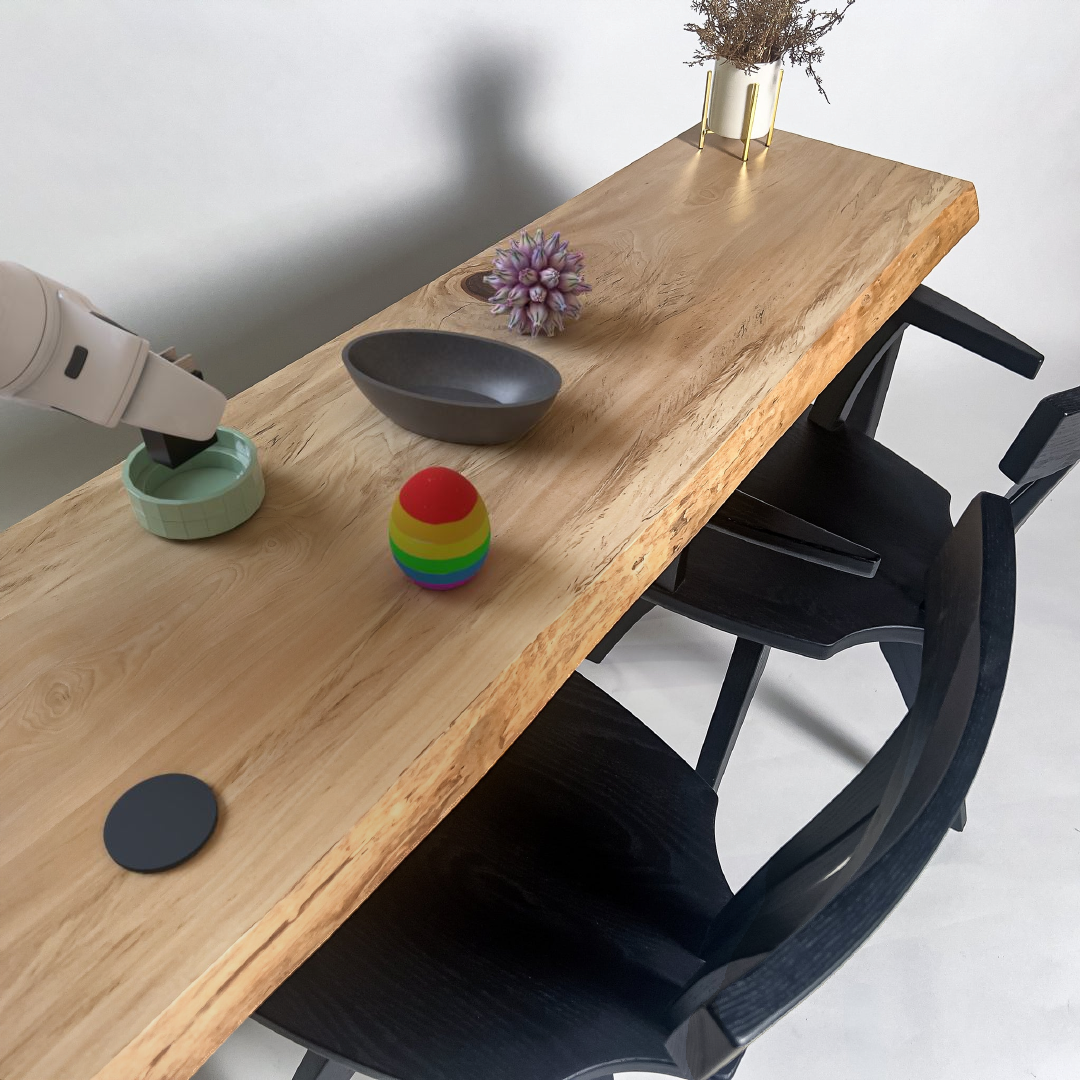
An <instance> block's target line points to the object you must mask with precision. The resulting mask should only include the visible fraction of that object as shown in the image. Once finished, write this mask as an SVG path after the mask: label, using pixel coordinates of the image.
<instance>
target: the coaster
mask: <svg viewBox="0 0 1080 1080" xmlns="http://www.w3.org/2000/svg"><path fill="white" fill-rule="evenodd" d="M218 818H219V806H218V801H217V798H216V796H215V794H214V792H213V790H212V789H211V787H210V786H209V785H208V784H207V783H206V782H205V781H203V780H202V779H200V778H198V777H197V776H193V775H191V774H187V773H179V772H175V773H174V772H173V773H172V772H171V773H162V774H158V775H154V776H152V777H149V778H147V779H144V780H142V781H140V782H138V783H136V784H135V785H134V786H132V787H130V788H129V789H127V791H125V792H124V793H123V794H122V795H121V796H119V798H118V799H117V800H116V801H115V803H113V805H112V807H111V808H110V810H109V811H108V813H107V816H106V818H105V821H104V825H103V833H102V837H103V844H104V847H105V849H106V851H107V853H108V855H109V857H110V858H111V859H112V860H113V862H114V863H116V864H117V865H118V866H120V867H121V868H123V869H125V870H127V871H130V872H134V873H139V874H153V873H154V874H155V873H161V872H165V871H169V870H171V869H174V868H176V867H178V866H181V865H182V864H185V863H186V862H188V861H189V860H190V859H192V858H193V857H194V856H196V855H197V854H198V853H199V852H200V851H201V850H202V849H203V848H204V847H205V846H206V845H207V844H208V842H209V840H210V839H211V838H212V835H213V833H214V832H215V830H216V827H217V823H218Z"/></svg>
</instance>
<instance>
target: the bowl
mask: <svg viewBox="0 0 1080 1080" xmlns="http://www.w3.org/2000/svg"><path fill="white" fill-rule="evenodd" d="M341 360H342V363H343V365H344V367H345V369H346V371H347V373H348V374H349V376H350V378H351V380H352V381H353V383H354V384H355V386H356V387H357V388H358V389H359V390H360V392H361V394H363V396H364V397H365V398H366V400H368V402H369V403H371V404H372V406H373V407H375V408H376V409H377V410H378V411H379V412H380V413H381V414H383V415H384V416H385V417H387V418H388V419H389V420H390V421H392V422H393V423H394V424H396V425H397V426H398V427H401V428H403V429H405V430H407V431H409V432H411V433H414V434H417V435H420V436H422V437H425V438H430V439H434V440H438V441H443V442H446V443H447V442H448V443H455V444H462V445H472V446H473V445H476V446H486V445H497V444H498V445H499V444H503V443H508V442H511V441H513V440H515V439H517V438H518V437H520V436H522V435H524V434H525V433H526V432H528V431H530V430H531V429H532V428H533V427H535V425H537V424H538V423H539V422H540V421H541V420H542V419H543V418H544V416H545V415H546V414H547V413H548V412H549V410H550V408H552V406H553V404H554V403H555V401H556V399H557V397H558V395H559V392H560V390H561V387H562V384H563V378H562V374H561V373H560V371H559V370H558V369H557V367H556V366H554V364H552V363H551V362H550V361H548V360H547V359H545V358H543V357H542V356H540V355H538V354H536V353H534V352H532V351H530V350H527V349H524V348H522V347H519V346H516V345H513V344H511V343H508V342H505V341H504V342H503V341H500V340H497V339H492V338H489V337H485V336H480V335H476V334H469V333H463V332H457V331H450V330H442V329H441V330H440V329H430V328H429V329H428V328H395V329H394V328H393V329H384V330H379V331H373V332H369V333H366V334H362V335H360V336H358V337H355V338H353V339H352V340H350V341H349V342H348V343H347V344H346V345H345V346H344V347H343V349H342V351H341Z"/></svg>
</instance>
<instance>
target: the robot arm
mask: <svg viewBox="0 0 1080 1080" xmlns="http://www.w3.org/2000/svg"><path fill="white" fill-rule="evenodd" d="M150 348H151V344H150V342H149V340H147V339H145V338H143V337H140V336H139V334H137V333H136V332H134V331H131V330H130V329H128V328H126V327H124V326H123V325H121V324H119V323H118V322H116V321H114V320H113V319H111V318H110V317H108V315H106V314H105V313H104V312H103V311H102V310H101V309H100V308H99V307H98V306H96V305H95V304H94V303H92V301H91V299H90V298H88V296H86V295H84V294H83V293H82V292H80V291H78V290H76V289H74V288H72V287H70V286H68V285H66V284H63V283H61V282H59V281H56V280H55V279H54V278H53V279H52V278H51V277H48V276H46V275H44V274H42V273H40V272H38V271H36V270H34V269H31V268H29V267H27V266H25V265H22V264H21V263H17V262H15V261H11V260H7V259H0V399H2V400H6V401H8V402H12V403H16V404H19V405H21V406H24V407H28V408H31V409H35V410H40V411H41V410H43V411H49V412H57V413H66V414H68V415H72V416H74V417H77V418H79V419H81V420H84V421H87V422H89V423H93V424H96V425H100V426H102V427H106V428H109V429H110V428H111V429H113V428H116V427H117V425H118V424H119V423H124V424H127V425H130V426H133V427H137V428H140V427H141V428H145V429H149V430H153V431H157V432H161V433H166V434H170V435H174V436H179V437H183V438H188V439H193V440H199V441H204V440H208V439H210V438H211V437H212V436H213V435H214V433H215V431H216V430H217V428H218V426H219V425H220V424H221V421H222V419H223V416H224V414H225V410H226V408H227V405H228V400H227V397H226V396H225V395H224V394H223V392H221V391H220V390H219V389H217V388H215V387H214V386H212V385H211V384H209V383H207V382H205V380H204V381H202V380H200V379H199V378H197V377H195V376H194V375H192V374H190V373H188V372H187V371H185V370H183V369H182V368H180V367H178V366H176V365H175V364H173V363H171V362H169V361H168V360H166V359H164V358H162V357H161V356H159V355H157V354H158V353H156V352H154V351H152V350H150Z"/></svg>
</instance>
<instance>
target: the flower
mask: <svg viewBox="0 0 1080 1080" xmlns="http://www.w3.org/2000/svg"><path fill="white" fill-rule="evenodd" d="M519 236H520V238H519V242H517V240H515V239H514V238H513V237H511V238H510V240H508V242H509V244H510V248H509V250H505V249H501V248H499V246H495V247H494V249H493V253H494V254H495V255H496V256H497V258H498V259H496V258H493V259H492V260H491V264H492V265H493V266H495V267H496V268H497V269H495V268H494V269H492V271H491V274H490V275H487V276H486V275H485V276H483V279H482V280H483V281H482V283H485V284H488V285H490V286H491V287H492V288H493V289H494V290H496V293H495V294H494V295H493V296H492V297H489V298H488V299H487V300H488V303H489V304H490V305H491V306H492V305H495V306H494V307H493V308H492V309H490V313H491V315H492V316H493V318H496V317H498V316H509V324H508V325H507V329H508V332H512V331H514V329H515V328H516V327H517V326H518V329H517V333H518V334H520V335H523V333H524V331H525V330H526V329H527V328H528V329H529V332H530V335H531V336H530V337H531V338H530V339H531V340H535V339H538V335H539V332H540V330H541V329H543V330H544V331H545V333H546V335H547V337H548V338H550V337H551V338H552V336H553V337H554V336H555V331H554V330H555V328H557V329H558V330H559V331H560V332H565V327H564V324H563V320H564V318H571V319H573V320H575V321H579V318H580V316H581V315H580V314H581V313H583V311H584V310H585V307H584V305H582V304H580V302H579V299H578V297H579V296H581V294H583V293H591V292H593V289H592V288H593V285H592V284H589V283H585V281H586V280H585V277H584V276H583V275H578V274H579V273H580V271H581V270H583V269H584V268H585V264H584V262H582V261H583V260H584V259H585V258H586V256H585V255H584V252H583V251H579V252H577V253H574V254H571V251H570V250H569V248H568V246H569V244H570V240H567V239H564V240H563V241H562V243H560V238H561V231H554V233H553V235H552V237H550V239H549V240H547V239H546V237H545V230H544V229H543V228H537V230H536V233H535V236H534V237H531V235H530V234H529V231H528V230H527V229H522V230H520V231H519Z"/></svg>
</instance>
